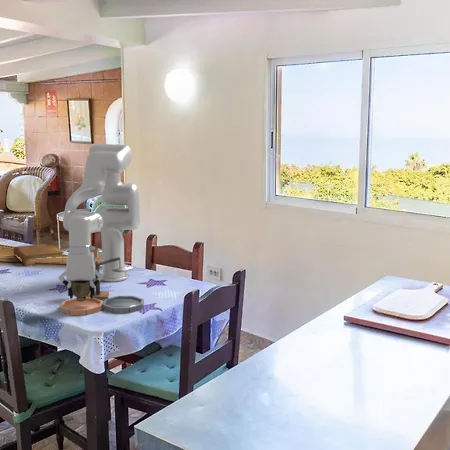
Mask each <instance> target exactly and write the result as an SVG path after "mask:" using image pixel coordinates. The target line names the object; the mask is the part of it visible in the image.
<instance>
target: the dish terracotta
mask: <svg viewBox="0 0 450 450" xmlns="http://www.w3.org/2000/svg"><path fill="white" fill-rule="evenodd" d="M76 298H77V297H74V298H72V299H70V298H69V299H67V300H64V301H62V303H61V304H60V305H59V312H61V313H64V314H66V315H68V316H86V315H91V314H95V313H98V312H101V311H102V310H103V309H102V304H103V302H104V300H99V299H96V298H87V299H86V300H85V301H83V302H79V301H77V300H76Z"/></svg>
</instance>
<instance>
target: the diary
mask: <svg viewBox="0 0 450 450" xmlns="http://www.w3.org/2000/svg"><path fill="white" fill-rule="evenodd" d="M14 254H15V255H17V256H18V257H20V258H21V259H22V263H21V264H22V265H24V266H25V267H31V266H30V265H32V266H37V265H36V264H35V263H34V262H31V261H30V259H36V258H47V257H52V258H56V257H62V258H63V255H64V254H65V253H64V251H63V250H62V249H60V248H59V247H57V246H55V245H54V244H52V243H51V242H49V243H48V242H47V243H41V244H31V245H20V246H14V247H13V255H14Z"/></svg>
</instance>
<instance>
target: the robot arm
mask: <svg viewBox="0 0 450 450" xmlns="http://www.w3.org/2000/svg"><path fill="white" fill-rule="evenodd" d="M132 152H133V151H132V149H131V147H130V146H129V145H127V144H109V143H98V144H93V145H91V146H90V147H89V150H88V155H87V156H86V161H85V166H84V172H83V177H82V183H81V186H80V187H79V188H77V189H76V190H75V191H74V192H73V193H72V194H71V196H69V198H68V200H67V201H66V203H65V208H64V212H63V218H62V224H63V228H64V230H65V231H67V232H68V241H69V243H68V245H69V252H68V253H67V256H66V257H67V258H66V269H65V271H63V273H61V274H60V275H58V280H60V282H62V285H64V286H65V287H66V288H67V295H68V297H69V300H70V299H74V298H73V297H74V295H73V293H72V288H71V282H73V281H89V282H90V285H91V287H90V298H93V295H95V291H96V285H97V284H98V283H99V282H100V281H102V282H121V281H125V280H127V279H128V278H129V276H128V275H129V274H127V273H128V272H133V270H134V268H133V266H128V267H127V266H125V239H124V236H123V235H122V233H121V231H120V230H123V231H124V230H127V231H128V230H131V231H134V230H137V229H138V228H139V227H140V223H141V216H140V215H141V211H140V192H139V188H138V186H137V185H136V184H135V183H131V182H129V183H128V182H126V183H125V182H122V180H121V179H122V177H121V174H122V173H123V172H124V171H125V170H126V169H127V167H128V166H129V165H130V164H131V162H132V158H133V153H132ZM99 195H100V196H101V200H102V202H103V203H104V204H105V205H110V206H111V207H104V208H102V209H101V210H100V211H99V213H98V212H94V211H93V212H92V211H91V212H89V211H76V210H77V208H78V207H79V206H80V205H81V204H82V203H84V202H85V201H88V200H90V199H92V198H94V197H97V196H99ZM114 206H119V207H114ZM120 206H126V207H120ZM99 231H100V233H101V234H100V236H101V262H102V261H106V260H109V259H113V258H117V257H120V260H118V261H114V262H110V263H107V264H103V265H101V268H102V270H101V271H102V273H101V272H98V271H97V270H96V268H95V262H96V259H95V254H94V252H93V251H96V246H93V245H92V243H91V242H92V239H91V238H92V235H91V234H93V233H97V232H99ZM115 267H126V268H128V271H126V272H113V271H112V269H113V268H115ZM96 275H97V276H98V279H96V280H95V276H96ZM65 277H66V278H65ZM68 281H69V282H68ZM70 281H71V282H70Z"/></svg>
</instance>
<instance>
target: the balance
mask: <svg viewBox="0 0 450 450" xmlns="http://www.w3.org/2000/svg"><path fill="white" fill-rule="evenodd" d="M118 260H120V257H117V258H113V259H109V260H106V261H102V260H101V261H96V260H95V268H96V270H97V271H98V272H100V267H101V266H102V265H103V264H107V263H110V262H114V261H118ZM126 267H127V266H124V267H115V268H113V269H112V271H113V272H126V271H128V267H127V268H126ZM128 272H129V271H128ZM100 273H101V272H100ZM96 279H98V276H97V275H96V276H95V278H94V281H95V280H96ZM67 281H68V280H67ZM68 282H69V281H68ZM109 295H110V290H101V283H100V282H99V283H98V284H97V285H96V286H95V295H93V298H96V299H99V300H102V301H104V300H105V299H108V298H109ZM86 298H90V293H89V295H88V296H86Z"/></svg>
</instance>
